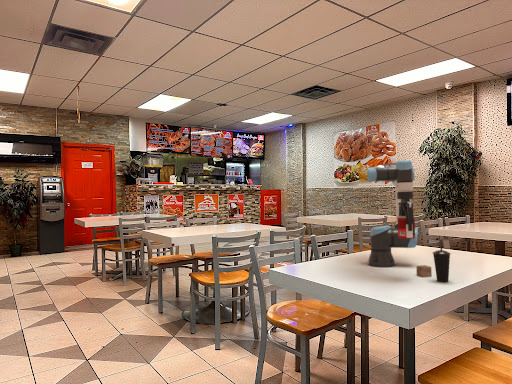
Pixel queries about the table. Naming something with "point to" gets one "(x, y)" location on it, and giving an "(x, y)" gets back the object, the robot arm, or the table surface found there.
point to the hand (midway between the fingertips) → (406, 236)
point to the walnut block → (424, 271)
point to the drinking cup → (442, 264)
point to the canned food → (404, 227)
